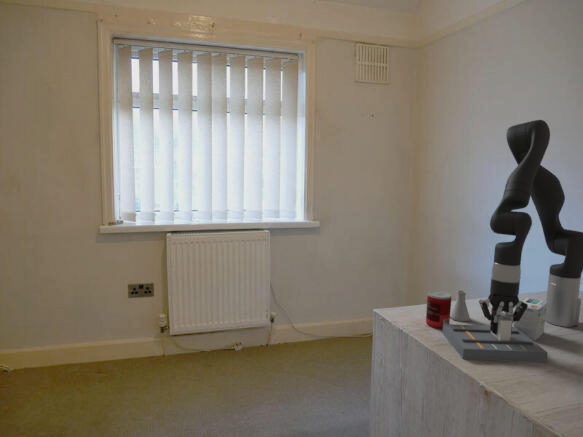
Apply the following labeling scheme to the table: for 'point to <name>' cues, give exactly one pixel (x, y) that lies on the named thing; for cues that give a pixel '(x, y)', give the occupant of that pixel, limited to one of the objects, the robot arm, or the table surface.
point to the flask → (460, 308)
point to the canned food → (438, 309)
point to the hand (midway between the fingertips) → (500, 333)
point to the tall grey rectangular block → (503, 328)
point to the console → (492, 344)
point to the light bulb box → (532, 318)
